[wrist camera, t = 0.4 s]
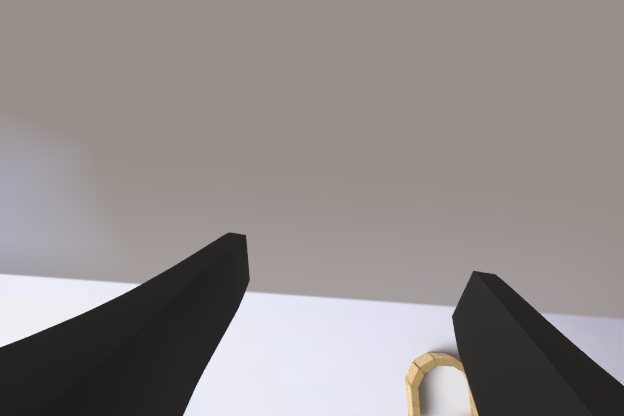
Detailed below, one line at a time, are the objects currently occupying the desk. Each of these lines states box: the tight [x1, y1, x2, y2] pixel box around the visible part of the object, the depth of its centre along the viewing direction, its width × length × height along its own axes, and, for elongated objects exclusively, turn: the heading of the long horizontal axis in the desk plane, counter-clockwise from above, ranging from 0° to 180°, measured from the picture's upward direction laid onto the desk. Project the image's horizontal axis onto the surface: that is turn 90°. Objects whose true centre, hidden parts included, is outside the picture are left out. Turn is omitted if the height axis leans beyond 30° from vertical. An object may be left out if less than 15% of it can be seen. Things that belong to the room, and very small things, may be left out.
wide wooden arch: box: [406, 352, 478, 416], centre depth 32 cm, size 7×8×2 cm
